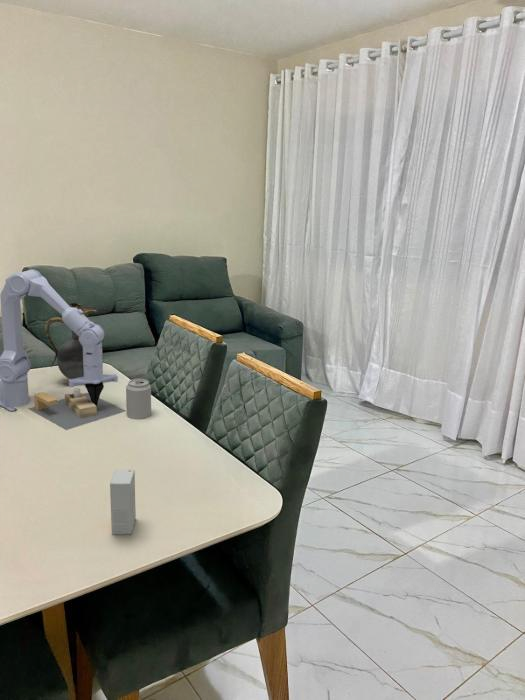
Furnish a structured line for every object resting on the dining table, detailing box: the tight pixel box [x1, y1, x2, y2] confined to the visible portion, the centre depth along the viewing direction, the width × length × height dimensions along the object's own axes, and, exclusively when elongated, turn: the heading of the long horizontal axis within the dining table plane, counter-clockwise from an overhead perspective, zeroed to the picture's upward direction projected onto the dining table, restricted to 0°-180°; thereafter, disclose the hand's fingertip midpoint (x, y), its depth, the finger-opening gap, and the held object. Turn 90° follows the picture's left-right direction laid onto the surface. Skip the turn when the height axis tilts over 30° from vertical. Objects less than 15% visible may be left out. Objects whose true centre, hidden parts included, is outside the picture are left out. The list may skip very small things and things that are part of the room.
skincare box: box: [109, 468, 137, 535], centre depth 113 cm, size 6×4×12 cm
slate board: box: [28, 388, 127, 431], centre depth 170 cm, size 22×21×6 cm
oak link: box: [64, 391, 97, 418], centre depth 170 cm, size 14×5×3 cm, turn 37°
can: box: [125, 378, 152, 420], centre depth 168 cm, size 8×8×12 cm
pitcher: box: [44, 302, 104, 380], centre depth 192 cm, size 11×19×30 cm, turn 107°
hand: (94, 405), depth 171 cm, fingers closed
